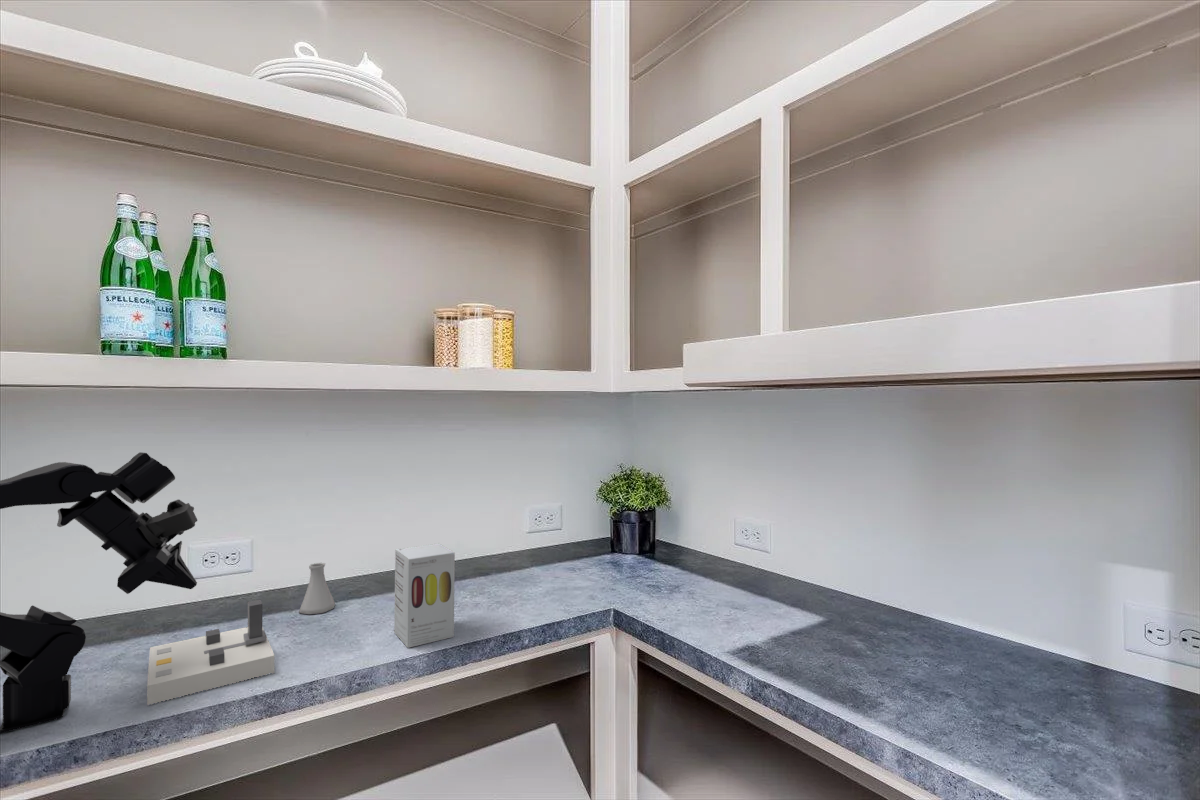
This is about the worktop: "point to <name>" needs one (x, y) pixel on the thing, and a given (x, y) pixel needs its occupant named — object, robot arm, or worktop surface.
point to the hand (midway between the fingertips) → (194, 586)
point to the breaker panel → (205, 664)
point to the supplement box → (424, 594)
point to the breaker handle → (255, 623)
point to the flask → (317, 592)
